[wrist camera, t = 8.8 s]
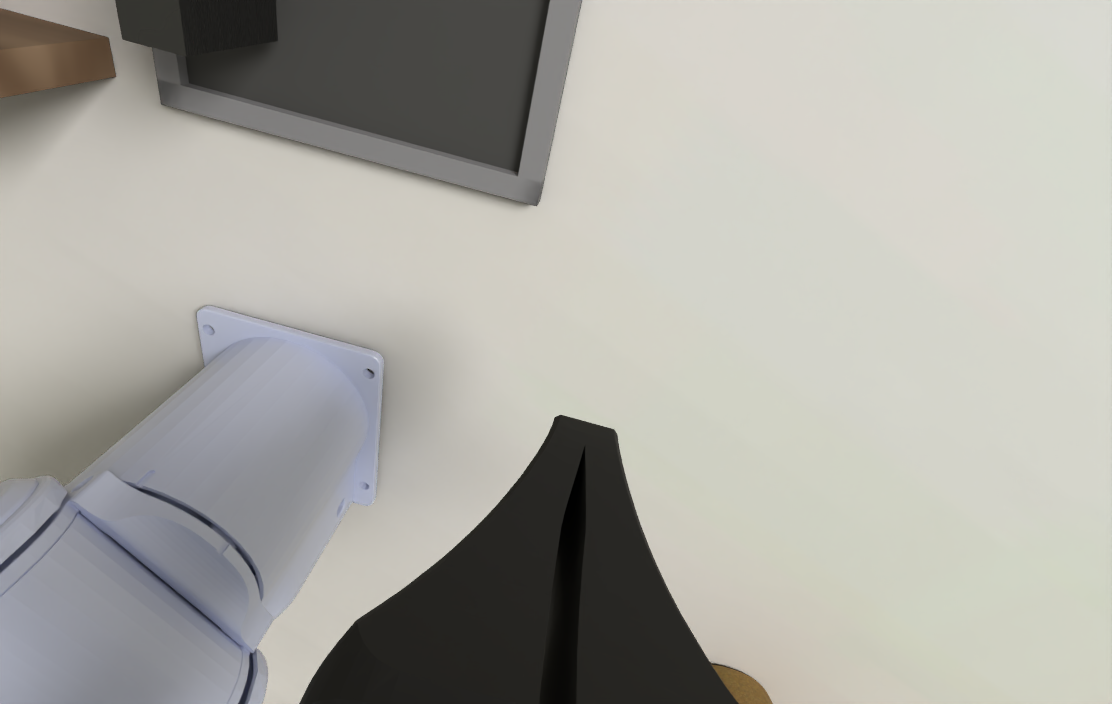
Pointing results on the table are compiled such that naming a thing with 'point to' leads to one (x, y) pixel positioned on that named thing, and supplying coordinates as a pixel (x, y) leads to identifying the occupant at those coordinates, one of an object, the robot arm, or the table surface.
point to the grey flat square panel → (399, 85)
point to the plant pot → (742, 686)
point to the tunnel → (48, 55)
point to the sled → (197, 24)
